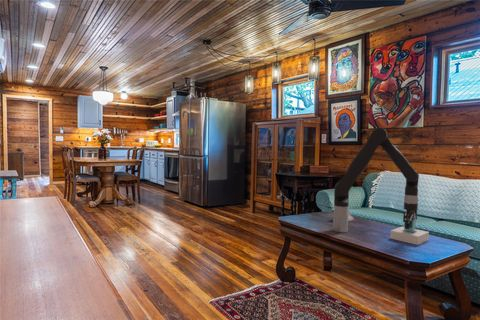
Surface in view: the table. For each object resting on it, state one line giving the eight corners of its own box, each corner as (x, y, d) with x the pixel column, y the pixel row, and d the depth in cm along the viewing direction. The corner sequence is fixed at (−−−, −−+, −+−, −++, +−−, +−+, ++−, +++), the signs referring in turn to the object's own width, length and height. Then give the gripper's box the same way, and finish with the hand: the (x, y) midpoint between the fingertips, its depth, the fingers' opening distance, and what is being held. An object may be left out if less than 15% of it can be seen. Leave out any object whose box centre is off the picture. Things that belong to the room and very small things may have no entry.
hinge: (341, 222, 233) (337, 209, 235) (336, 223, 237) (332, 210, 239) (354, 219, 243) (350, 206, 246) (348, 220, 247) (345, 207, 249)
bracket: (412, 239, 191) (413, 221, 190) (403, 237, 194) (404, 219, 194) (415, 237, 193) (415, 220, 193) (406, 236, 197) (407, 218, 196)
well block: (417, 244, 183) (418, 236, 182) (390, 238, 195) (390, 230, 195) (428, 239, 193) (428, 231, 193) (401, 233, 205) (402, 226, 205)
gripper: (409, 199, 200) (408, 224, 201) (399, 202, 191) (398, 228, 192) (422, 201, 194) (420, 227, 195) (412, 204, 185) (411, 231, 186)
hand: (409, 227), depth 194 cm, fingers open, 8 cm apart
